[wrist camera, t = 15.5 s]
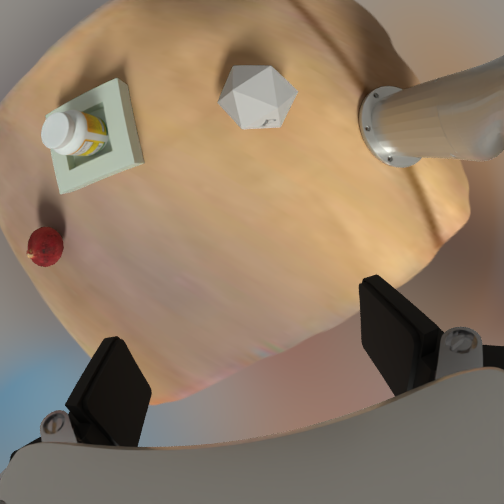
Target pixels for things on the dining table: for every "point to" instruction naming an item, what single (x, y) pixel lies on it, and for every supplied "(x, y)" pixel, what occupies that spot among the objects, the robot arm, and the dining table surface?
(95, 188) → the dining table surface
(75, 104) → the sage block
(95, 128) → the supplement bottle
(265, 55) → the dining table surface
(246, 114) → the die
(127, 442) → the robot arm
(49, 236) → the onion
